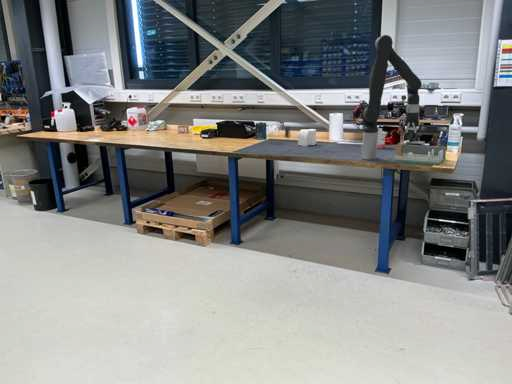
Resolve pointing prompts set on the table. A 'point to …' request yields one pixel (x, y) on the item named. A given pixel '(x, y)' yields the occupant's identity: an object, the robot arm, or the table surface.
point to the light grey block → (307, 137)
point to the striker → (410, 140)
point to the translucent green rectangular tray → (422, 154)
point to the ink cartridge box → (381, 139)
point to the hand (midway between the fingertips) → (410, 138)
